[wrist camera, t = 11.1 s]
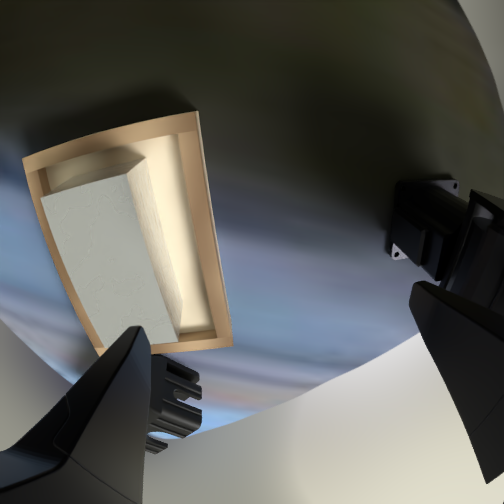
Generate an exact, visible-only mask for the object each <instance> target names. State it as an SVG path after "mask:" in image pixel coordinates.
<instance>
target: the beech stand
mask: <svg viewBox="0 0 504 504" xmlns="http://www.w3.org/2000/svg"><path fill="white" fill-rule="evenodd" d="M142 158H146V160H147V164H148V169H149V174H150V178H151V183H152V187H153V191H154V196H155V200H156V204H157V208H158V212H159V216H160V220H161V224H162V228H163V232H164V236H165V240H166V244H167V247H168V251H169V255H170V258H171V262H172V265H173V269H174V272H175V276H176V279H177V283H178V286H179V289H180V293H181V296H182V299H183V307H182V315H181V324H180V332H179V341H178V342H171V343H162V344H152V345H151V354H160V353H173V352H184V351H195V350H205V349H214V348H222V347H230V346H233V336H232V324H231V316H230V311H229V306H228V300H227V295H226V289H225V283H224V278H223V272H222V266H221V260H220V254H219V248H218V242H217V236H216V230H215V224H214V218H213V211H212V205H211V198H210V192H209V185H208V178H207V172H206V165H205V158H204V151H203V143H202V136H201V129H200V121H199V113H198V111H194V112H188V113H182V114H176V115H171V116H166V117H160V118H156V119H151V120H146V121H142V122H137V123H133V124H129V125H125V126H121V127H117V128H113V129H109V130H105V131H102V132H98V133H95V134H91V135H88V136H84V137H81V138H78V139H75V140H71V141H68V142H65V143H62V144H59V145H56V146H53V147H51V148H48V149H45V150H42V151H40V152H37V153H35V154H32V155H30V156H27V157H25V158H23V159H22V160H23V165H24V169H25V173H26V177H27V181H28V185H29V189H30V192H31V196H32V200H33V203H34V206H35V210H36V213H37V216H38V219H39V222H40V225H41V228H42V231H43V234H44V237H45V240H46V243H47V245H48V248H49V251H50V253H51V256H52V259H53V261H54V264H55V266H56V269H57V271H58V274H59V276H60V278H61V281H62V283H63V285H64V288H65V290H66V292H67V294H68V296H69V299H70V301H71V303H72V305H73V307H74V309H75V311H76V313H77V315H78V317H79V319H80V321H81V323H82V325H83V327H84V329H85V331H86V333H87V335H88V337H89V339H90V341H91V342H92V344H93V346H94V348H95V350H96V351H97V353H98V355H99V357H100V356H101V355H102V354H103V353H104V352H105V351H106V350H107V349H108V348H105V347H104V345H103V344H102V342H101V340H100V338H99V336H98V335H97V333H96V331H95V329H94V327H93V325H92V323H91V321H90V319H89V317H88V315H87V313H86V311H85V309H84V307H83V305H82V303H81V301H80V299H79V297H78V295H77V293H76V291H75V288H74V286H73V284H72V282H71V279H70V277H69V275H68V273H67V270H66V268H65V265H64V263H63V261H62V258H61V256H60V253H59V251H58V248H57V245H56V243H55V240H54V237H53V235H52V232H51V229H50V226H49V223H48V220H47V217H46V214H45V211H44V208H43V205H42V202H41V199H40V198H41V197H43V196H44V195H46V194H47V193H48V192H50V191H51V190H53V189H55V188H56V187H58V186H59V185H61V184H62V183H64V182H65V181H67V180H68V179H70V178H72V177H75V176H78V175H81V174H85V173H88V172H92V171H95V170H99V169H102V168H106V167H110V166H113V165H117V164H121V163H125V162H129V161H133V160H138V159H142Z"/></svg>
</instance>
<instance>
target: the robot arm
mask: <svg viewBox="0 0 504 504" xmlns="http://www.w3.org/2000/svg"><path fill="white" fill-rule="evenodd" d="M403 185H404V188H403V190H401V187H402V186H403ZM453 185H454V187H453ZM458 193H459V182H458V181H457V180H455V179H425V180H403V181H399V182H398V183H397V184H396V190H395V204H394V210H393V216H392V226H391V236H390V240H391V244H390V252H389V255H390V257H391V258H392V259H393V260H398V259H404V258H409V259H410V260H411V261H412V262H413V263H414V264H415V265H416V266H418V267H419V266H421V267H422V268H423V269H424V270H425V271H426V272H427V273H428V274H429V275H430V276H431V277H432V278H433V279H434V280H435V281H441V282H440V285H439V286H436V285H434V284H432V283H429V282H427V281H419V282H415V283H414V284H413V287H412V291H411V295H410V299H409V307H410V310H411V312H412V315H413V317H414V319H415V321H416V324H417V326H418V329H419V331H420V333H421V336H422V338H423V340H424V342H425V345H426V347H427V349H428V351H429V352H430V354H431V356H432V358H433V360H434V362H435V364H436V366H437V368H438V370H439V372H440V374H441V376H442V378H443V380H444V382H445V384H446V386H447V388H448V391H449V392H450V395H451V397H452V399H453V401H454V403H455V406H456V408H457V410H458V412H459V415H460V417H461V419H462V421H463V424H464V426H465V429H466V431H467V434H468V436H469V439H470V441H471V444H472V447H473V449H474V452H475V454H476V457H477V460H478V462H479V465H480V468H481V471H482V474H483V477H484V479H485V482H486V484H488V483H490V482H491V481H493V480H494V479H495V478H497V477H498V476H499V475H501V474H502V473H503V472H504V199H501V198H498V197H495V196H492V195H489V194H486V193H483V192H480V191H476V190H473V189H471V191H470V195H469V197H470V200H469V203H468V202H466V201H464V200H462V199H461V198H459V197H458ZM396 252H397V253H396ZM395 253H396V254H395ZM394 254H395V255H394ZM150 392H151V345H150V342H149V340H148V338H147V335H146V333H145V330H144V328H143V327H142V326H141V325H136V326H130V327H128V328H127V329H126V330H125V331H124V332H123V333H122V334H121V335H120V336H119V337H118V338H117V340H116V341H115V342H114V343H113V344H112V345H111V346H110V347H109V348H108V349H107V350H106V351H105V352H104V353H103V354H102V355H101V356H100V357H99V358H98V359H97V361H96V362H95V363H94V364H93V365H92V366H91V367H90V368H89V369H88V370H87V371H86V372H85V373H84V374H83V375H82V377H81V378H80V379H79V380H78V381H77V382H76V383H75V384H74V385H73V386H72V387H71V388H70V390H69V391H68V392H67V393H66V395H64V396H63V397H62V398H61V399H60V401H59V402H58V403H57V404H56V405H55V406H54V407H53V408H52V409H51V410H50V411H49V412H48V413H47V414H46V415H45V416H44V417H43V418H42V419H41V420H40V421H39V422H38V423H37V424H36V425H35V426H34V427H33V428H31V429H30V430H29V431H28V432H27V433H26V434H25V435H24V436H23V437H22V438H21V439H20V440H18V442H16V443H15V444H14V445H13V446H11V447H10V448H8V449H6V450H4V451H0V504H142V493H143V473H144V472H143V471H144V457H145V444H146V432H147V421H148V412H149V402H150ZM503 504H504V502H503Z"/></svg>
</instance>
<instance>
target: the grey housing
mask: <svg viewBox="0 0 504 504" xmlns="http://www.w3.org/2000/svg"><path fill="white" fill-rule="evenodd" d="M40 199H41V202H42V205H43V208H44V211H45V214H46V217H47V220H48V223H49V226H50V229H51V232H52V235H53V237H54V240H55V243H56V245H57V248H58V251H59V253H60V256H61V258H62V261H63V263H64V265H65V268H66V270H67V273H68V275H69V277H70V279H71V282H72V284H73V286H74V288H75V291H76V293H77V295H78V297H79V299H80V301H81V303H82V305H83V307H84V309H85V311H86V313H87V315H88V317H89V319H90V321H91V323H92V325H93V327H94V329H95V331H96V333H97V335H98V336H99V338H100V340H101V342H102V344H103V345H104V347H105V348H109V347H110V346H111V345H112V344H113V343H114V342H115V341H116V340H117V338H118V337H119V336H120V335H121V334H122V333H123V332H124V331H125V330H126V329H127V328H128V327H130V326H136V325H141V326H142V327H143V328H144V330H145V333H146V335H147V338H148V340H149V342H150V345H152V344H162V343H171V342H178V341H179V332H180V324H181V315H182V307H183V299H182V296H181V293H180V289H179V286H178V283H177V279H176V276H175V272H174V269H173V265H172V262H171V258H170V255H169V251H168V247H167V244H166V240H165V236H164V232H163V228H162V224H161V220H160V216H159V212H158V208H157V204H156V200H155V196H154V191H153V187H152V183H151V178H150V174H149V169H148V164H147V160H146V158H142V159H138V160H133V161H129V162H125V163H121V164H117V165H113V166H110V167H106V168H102V169H99V170H95V171H92V172H88V173H85V174H81V175H78V176H75V177H72V178H70V179H68V180H67V181H65V182H64V183H62V184H61V185H59V186H58V187H56V188H55V189H53V190H51V191H50V192H48V193H47V194H46V195H44V196H43V197H41V198H40Z"/></svg>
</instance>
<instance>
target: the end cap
mask: <svg viewBox="0 0 504 504" xmlns="http://www.w3.org/2000/svg"><path fill="white" fill-rule="evenodd" d="M198 381H199V373H198V372H196V371H194V370H192V369H190V368H188V367H185V366H183V365H181V364H179V363H177V362H175V361H173V360H171V359H169V358H167V357H164V356H161V355H156V356H152V355H151V392H150V402H149V412H148V421H147V432H146V444H145V451H148V452H150V453H153V454H157V453H159V452H161V451H162V450H164V449H166V448H167V447H168V444H167V443H164V442H161V441H158V440H155V439H153V438H151V437H149V436H148V435H147V433H149V432H156V431H157V432H165V433H168V434H171V435H174V436H177V437H180V438H185V437H186V436H188V435H189V434H191V433H193V432H194V431H196V430H198V429H199V427H200V426H201V423H202V410H200V409H198V408H195V407H192V406H190V405H187V404H185V403H182V402H180V401H178V400H177V398H178V399H180V400H183V401H185V400H186V399H188V398H189V397H192V398H194V399H197V400H200V399H202V388H201V386H199V385H197V384H196V383H197V382H198Z"/></svg>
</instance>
